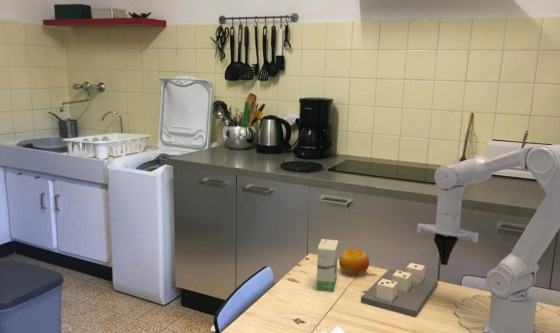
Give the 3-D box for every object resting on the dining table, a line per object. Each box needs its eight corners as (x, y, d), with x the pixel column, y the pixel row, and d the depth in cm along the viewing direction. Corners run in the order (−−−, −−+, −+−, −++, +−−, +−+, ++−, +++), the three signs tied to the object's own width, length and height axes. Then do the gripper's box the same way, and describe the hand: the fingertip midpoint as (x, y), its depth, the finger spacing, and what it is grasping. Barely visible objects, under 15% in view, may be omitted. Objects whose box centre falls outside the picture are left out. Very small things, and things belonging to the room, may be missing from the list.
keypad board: (437, 284, 132) (438, 279, 132) (415, 317, 113) (416, 311, 113) (388, 273, 139) (389, 268, 139) (360, 302, 120) (361, 296, 120)
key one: (423, 282, 132) (425, 265, 131) (419, 287, 129) (421, 269, 128) (409, 279, 134) (410, 262, 133) (405, 284, 131) (406, 266, 130)
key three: (396, 300, 121) (397, 281, 120) (391, 306, 118) (392, 287, 117) (381, 296, 123) (382, 277, 122) (376, 302, 120) (377, 283, 119)
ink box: (334, 292, 126) (335, 249, 124) (315, 290, 127) (317, 248, 125) (337, 279, 134) (338, 239, 132) (319, 277, 135) (321, 238, 133)
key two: (410, 291, 127) (412, 272, 126) (406, 296, 123) (407, 278, 123) (396, 287, 129) (397, 269, 128) (391, 293, 125) (392, 274, 125)
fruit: (329, 260, 139) (346, 240, 137) (343, 262, 146) (360, 243, 144) (347, 281, 134) (365, 260, 132) (361, 283, 140) (378, 263, 139)
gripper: (482, 213, 118) (477, 264, 121) (423, 204, 126) (420, 253, 128) (477, 219, 112) (472, 273, 115) (416, 210, 120) (412, 261, 122)
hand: (444, 263), depth 121 cm, fingers closed
